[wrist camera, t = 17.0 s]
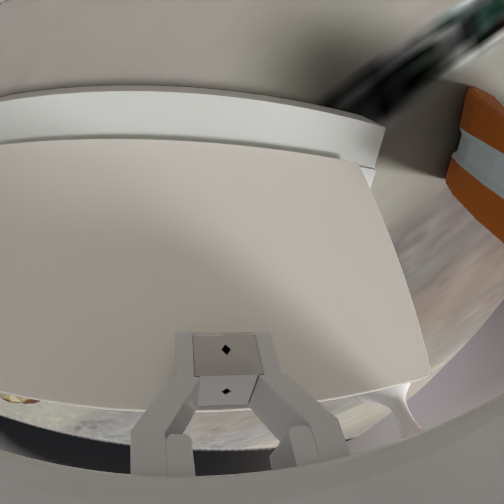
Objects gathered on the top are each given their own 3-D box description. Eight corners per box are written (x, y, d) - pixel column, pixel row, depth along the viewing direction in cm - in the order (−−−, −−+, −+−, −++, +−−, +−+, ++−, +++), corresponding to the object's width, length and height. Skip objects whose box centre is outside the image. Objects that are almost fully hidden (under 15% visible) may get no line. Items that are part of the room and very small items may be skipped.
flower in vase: (382, 387, 49) (434, 507, 29) (333, 390, 45) (385, 533, 25) (431, 338, 42) (502, 469, 23) (384, 335, 38) (464, 499, 18)
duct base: (361, 115, 21) (388, 128, 18) (294, 325, 33) (304, 353, 30) (7, 95, 15) (-21, 106, 12) (49, 319, 27) (40, 348, 24)
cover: (351, 173, 19) (357, 162, 18) (418, 380, 12) (432, 374, 11) (3, 157, 14) (-1, 144, 13) (-68, 372, 7) (-81, 365, 6)
